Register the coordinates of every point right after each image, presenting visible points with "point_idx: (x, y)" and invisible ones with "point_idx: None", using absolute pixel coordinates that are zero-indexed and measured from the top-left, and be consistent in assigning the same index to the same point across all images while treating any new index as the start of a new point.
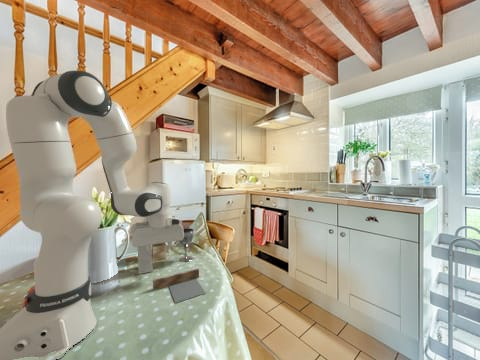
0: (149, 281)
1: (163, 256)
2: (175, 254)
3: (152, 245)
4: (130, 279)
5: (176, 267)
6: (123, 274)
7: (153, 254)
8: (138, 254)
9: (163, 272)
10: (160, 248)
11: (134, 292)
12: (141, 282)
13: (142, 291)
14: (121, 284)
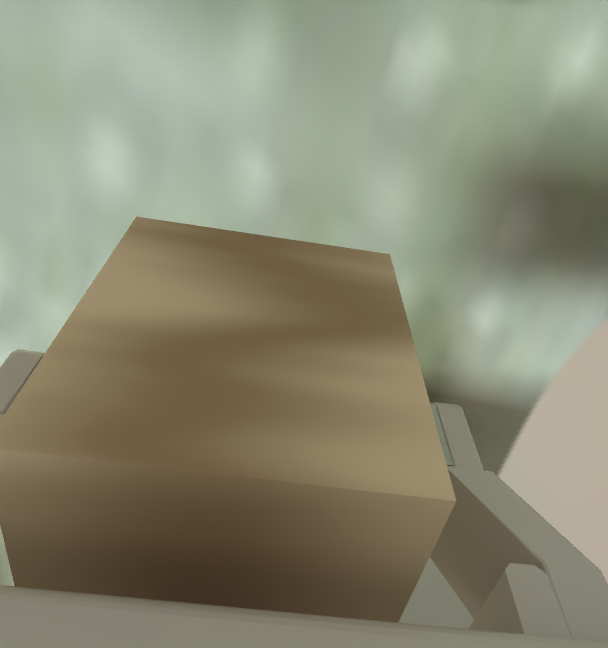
0: (375, 199)
1: (176, 259)
2: (3, 545)
3: (392, 619)
4: (500, 349)
5: (30, 313)
6: (505, 457)
7: (409, 339)
8: None
9: None
10: (219, 407)
11: (590, 65)
12: (447, 232)
13: (520, 21)
14: (596, 311)
